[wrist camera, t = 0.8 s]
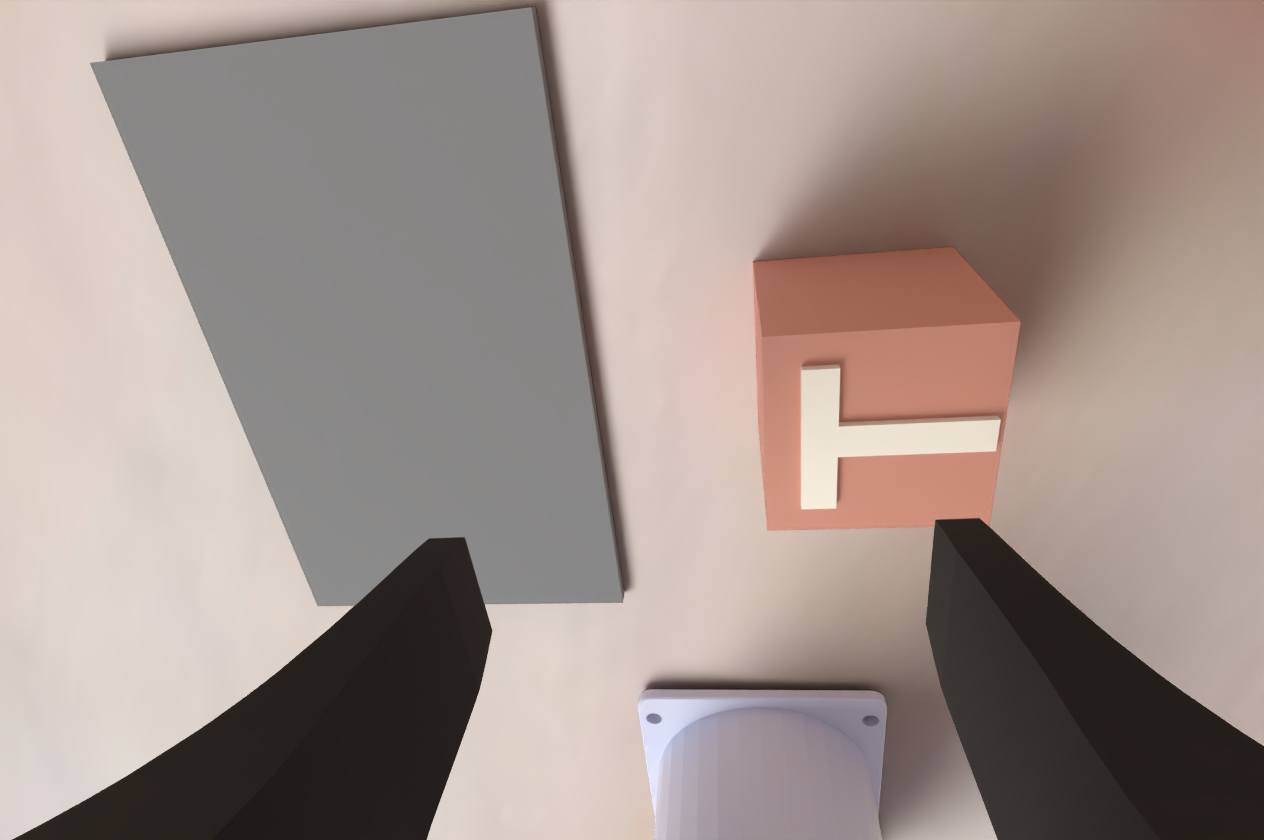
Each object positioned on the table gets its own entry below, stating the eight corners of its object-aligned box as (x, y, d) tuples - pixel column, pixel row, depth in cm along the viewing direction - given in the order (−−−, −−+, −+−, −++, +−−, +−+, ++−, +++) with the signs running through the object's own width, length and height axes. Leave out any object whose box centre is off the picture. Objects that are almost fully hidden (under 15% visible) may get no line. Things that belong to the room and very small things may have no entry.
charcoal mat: (624, 593, 23) (622, 602, 23) (323, 597, 25) (317, 606, 24) (535, 6, 15) (531, 7, 15) (103, 61, 17) (90, 62, 16)
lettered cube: (934, 417, 19) (991, 529, 15) (758, 424, 20) (767, 535, 16) (952, 245, 17) (1024, 324, 13) (752, 260, 18) (762, 340, 14)
